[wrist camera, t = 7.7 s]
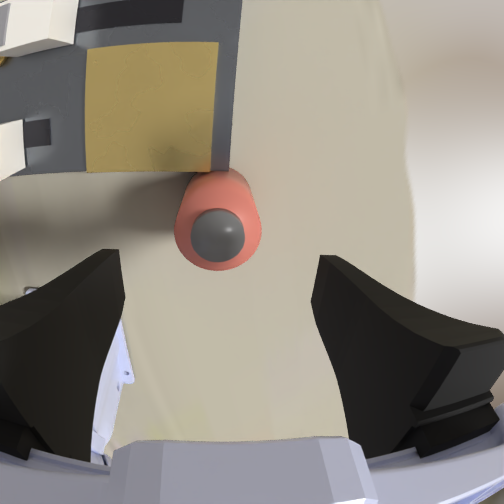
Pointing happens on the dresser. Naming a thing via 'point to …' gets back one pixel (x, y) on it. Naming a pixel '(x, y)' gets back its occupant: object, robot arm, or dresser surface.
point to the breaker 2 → (36, 25)
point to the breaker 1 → (11, 148)
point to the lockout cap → (217, 221)
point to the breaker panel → (129, 89)
